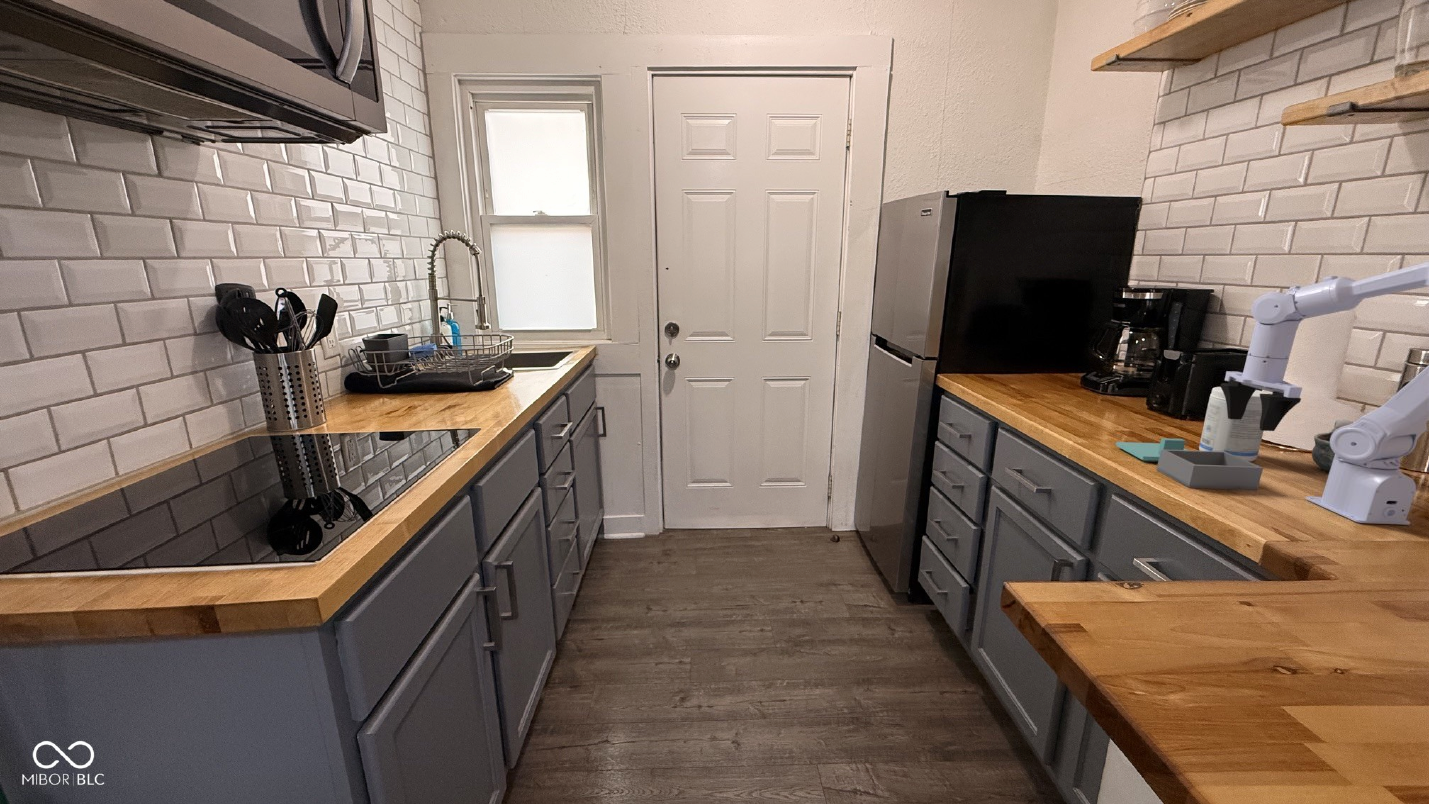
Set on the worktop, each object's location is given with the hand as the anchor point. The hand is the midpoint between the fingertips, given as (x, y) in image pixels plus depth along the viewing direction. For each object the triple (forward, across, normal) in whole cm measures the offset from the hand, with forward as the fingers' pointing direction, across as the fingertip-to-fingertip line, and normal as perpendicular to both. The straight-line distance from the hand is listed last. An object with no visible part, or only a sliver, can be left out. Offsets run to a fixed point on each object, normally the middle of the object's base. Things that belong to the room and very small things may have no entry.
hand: (1250, 424), depth 109 cm
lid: (+11, -9, -9) cm, 17 cm away
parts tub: (+10, +4, -9) cm, 14 cm away
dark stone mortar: (+11, -4, +22) cm, 25 cm away
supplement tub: (+11, -11, +6) cm, 16 cm away
